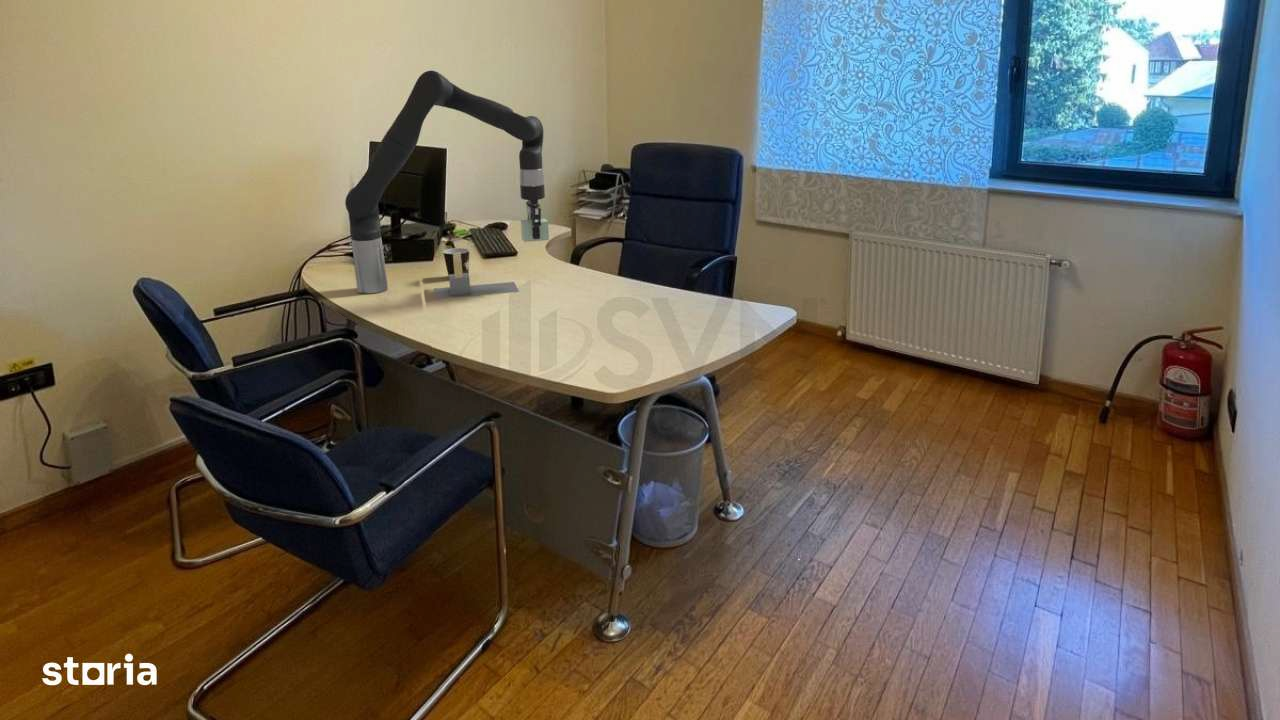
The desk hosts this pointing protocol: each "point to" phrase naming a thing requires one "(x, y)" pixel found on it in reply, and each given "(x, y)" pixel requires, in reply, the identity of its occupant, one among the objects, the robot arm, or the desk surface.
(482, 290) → the base board
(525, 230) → the mint green block
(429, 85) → the robot arm
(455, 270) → the t key
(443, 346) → the desk surface
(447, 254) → the coffee mug
